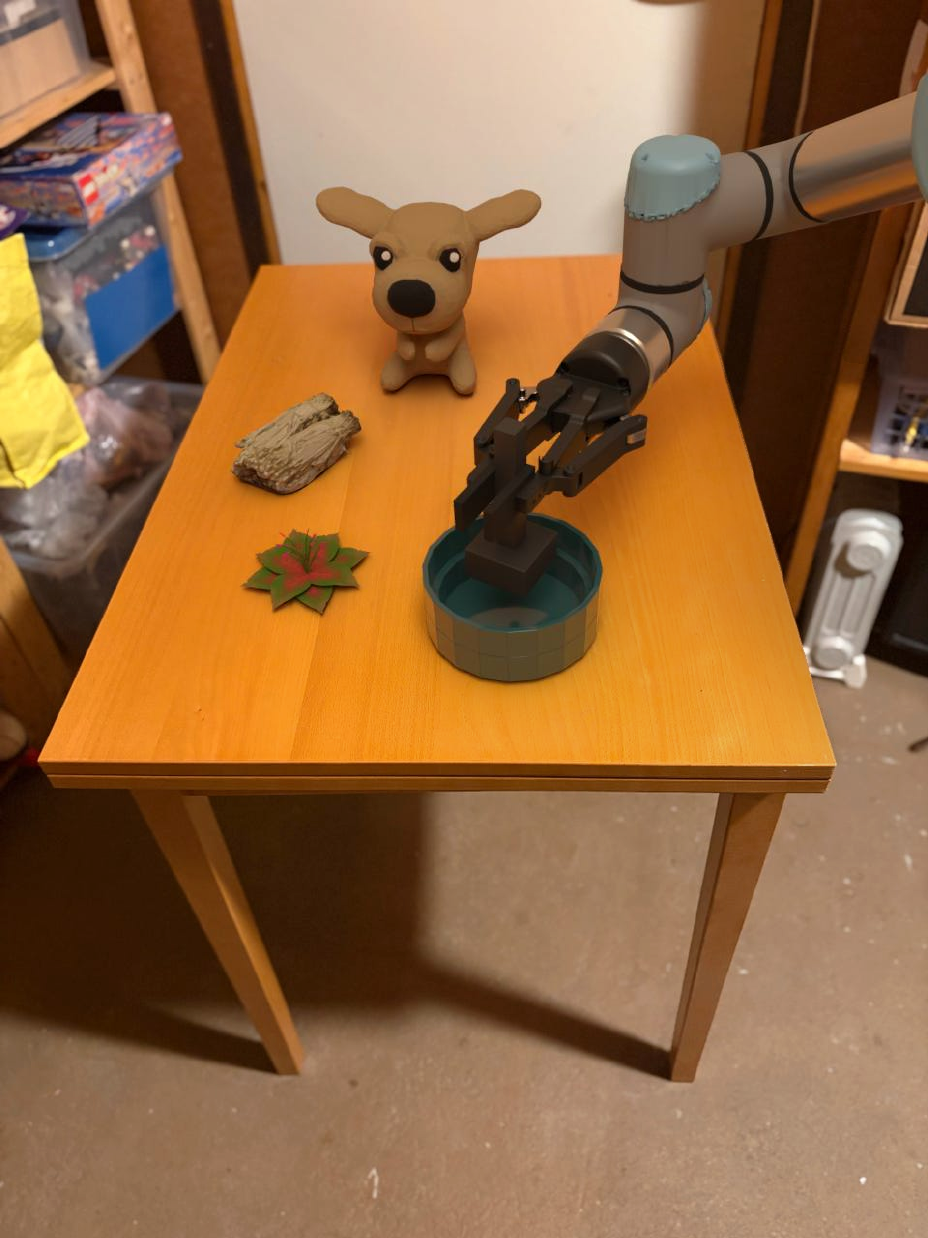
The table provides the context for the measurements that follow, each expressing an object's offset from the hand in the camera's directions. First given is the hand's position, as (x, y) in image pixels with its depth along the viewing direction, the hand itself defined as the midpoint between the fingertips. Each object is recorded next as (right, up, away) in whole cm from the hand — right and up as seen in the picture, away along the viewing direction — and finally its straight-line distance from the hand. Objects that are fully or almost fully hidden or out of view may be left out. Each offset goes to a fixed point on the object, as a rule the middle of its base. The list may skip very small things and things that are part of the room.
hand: (473, 521), depth 68 cm
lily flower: (-16, -3, +20) cm, 25 cm away
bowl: (+4, -7, +14) cm, 16 cm away
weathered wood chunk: (-18, +10, +33) cm, 39 cm away
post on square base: (+3, -3, +10) cm, 11 cm away
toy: (-4, +23, +44) cm, 50 cm away
